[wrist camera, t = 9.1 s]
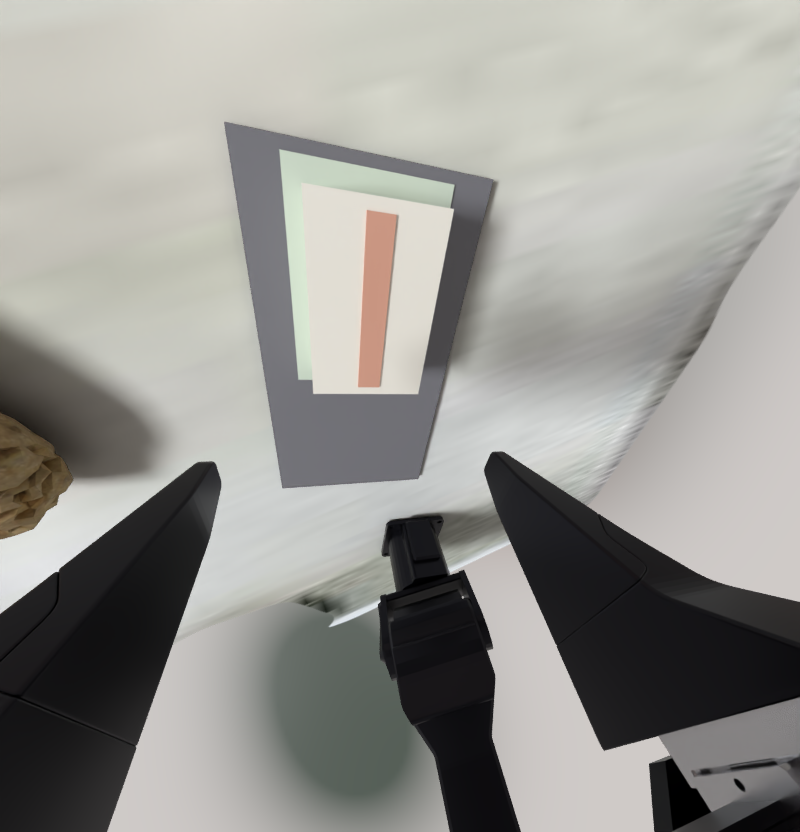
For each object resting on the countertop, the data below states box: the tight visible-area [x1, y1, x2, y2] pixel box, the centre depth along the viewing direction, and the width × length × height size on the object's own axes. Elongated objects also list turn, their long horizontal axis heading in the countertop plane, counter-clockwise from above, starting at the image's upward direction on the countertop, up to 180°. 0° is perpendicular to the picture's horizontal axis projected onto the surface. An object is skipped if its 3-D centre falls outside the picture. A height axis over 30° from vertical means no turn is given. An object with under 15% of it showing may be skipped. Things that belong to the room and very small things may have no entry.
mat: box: [224, 122, 493, 488], centre depth 19 cm, size 22×12×1 cm, turn 172°
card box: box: [301, 183, 454, 394], centre depth 15 cm, size 6×9×3 cm, turn 172°
